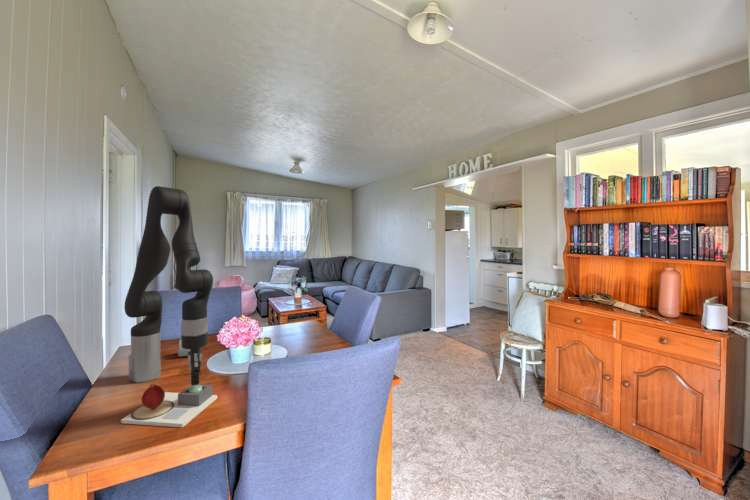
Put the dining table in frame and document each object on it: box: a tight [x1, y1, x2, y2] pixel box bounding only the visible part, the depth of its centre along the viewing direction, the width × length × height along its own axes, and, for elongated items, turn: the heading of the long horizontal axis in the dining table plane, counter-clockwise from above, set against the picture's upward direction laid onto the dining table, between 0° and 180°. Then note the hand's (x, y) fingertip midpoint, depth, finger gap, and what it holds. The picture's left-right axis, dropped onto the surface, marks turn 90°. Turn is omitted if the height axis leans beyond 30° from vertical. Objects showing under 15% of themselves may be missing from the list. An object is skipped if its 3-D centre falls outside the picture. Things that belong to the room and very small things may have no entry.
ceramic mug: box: [177, 338, 190, 358], centre depth 149 cm, size 11×8×8 cm
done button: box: [189, 384, 202, 393], centre depth 105 cm, size 4×4×3 cm
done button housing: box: [178, 384, 213, 406], centre depth 105 cm, size 7×7×4 cm
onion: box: [141, 383, 166, 410], centre depth 99 cm, size 6×6×8 cm
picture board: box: [120, 391, 218, 428], centre depth 101 cm, size 20×17×1 cm
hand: (195, 384), depth 105 cm, fingers closed
